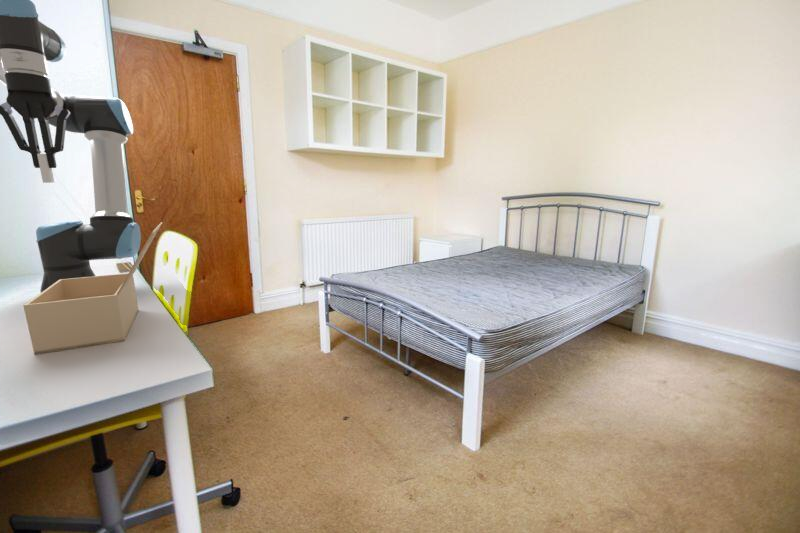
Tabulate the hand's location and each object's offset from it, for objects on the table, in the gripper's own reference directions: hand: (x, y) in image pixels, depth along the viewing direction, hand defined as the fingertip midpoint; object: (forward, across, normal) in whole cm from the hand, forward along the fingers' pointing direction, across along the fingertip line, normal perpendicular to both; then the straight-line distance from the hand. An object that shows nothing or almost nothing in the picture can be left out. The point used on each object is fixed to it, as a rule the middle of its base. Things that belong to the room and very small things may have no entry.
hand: (48, 182), depth 93 cm
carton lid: (+18, +17, -7) cm, 25 cm away
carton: (+36, +4, -7) cm, 37 cm away
